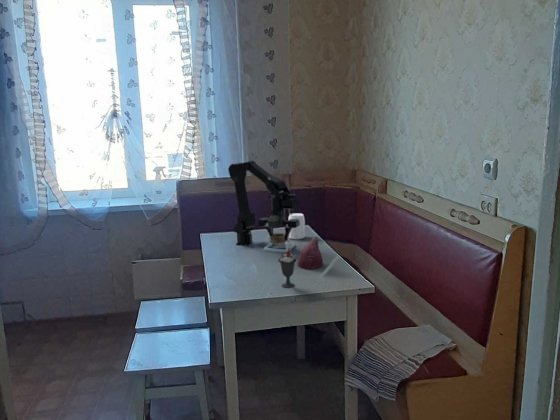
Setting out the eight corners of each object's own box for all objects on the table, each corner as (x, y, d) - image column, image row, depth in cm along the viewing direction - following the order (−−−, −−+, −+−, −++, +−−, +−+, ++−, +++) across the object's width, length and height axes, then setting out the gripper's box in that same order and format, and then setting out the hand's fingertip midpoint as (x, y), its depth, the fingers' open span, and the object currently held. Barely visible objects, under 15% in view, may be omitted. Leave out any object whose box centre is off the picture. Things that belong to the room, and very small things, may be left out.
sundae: (291, 290, 180) (290, 250, 177) (276, 287, 183) (274, 248, 180) (300, 284, 185) (299, 245, 182) (285, 281, 189) (284, 243, 186)
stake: (278, 260, 216) (277, 243, 214) (283, 255, 222) (283, 239, 220) (293, 261, 213) (292, 244, 212) (298, 256, 220) (297, 240, 218)
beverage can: (305, 239, 247) (304, 216, 245) (289, 240, 247) (288, 216, 245) (304, 235, 255) (304, 212, 253) (289, 236, 255) (288, 213, 253)
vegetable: (323, 272, 207) (333, 238, 205) (317, 277, 198) (327, 241, 195) (300, 264, 211) (309, 231, 208) (293, 269, 201) (302, 233, 198)
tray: (263, 252, 227) (263, 248, 227) (272, 246, 238) (272, 241, 237) (287, 254, 223) (287, 249, 223) (295, 247, 234) (295, 243, 233)
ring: (275, 239, 234) (274, 232, 233) (288, 239, 231) (287, 233, 231) (269, 243, 227) (269, 236, 226) (282, 244, 225) (282, 237, 224)
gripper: (252, 210, 222) (253, 244, 225) (291, 212, 216) (292, 246, 219) (261, 205, 232) (263, 237, 235) (299, 207, 226) (300, 240, 229)
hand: (279, 240), depth 229 cm, fingers closed on ring, 6 cm apart
